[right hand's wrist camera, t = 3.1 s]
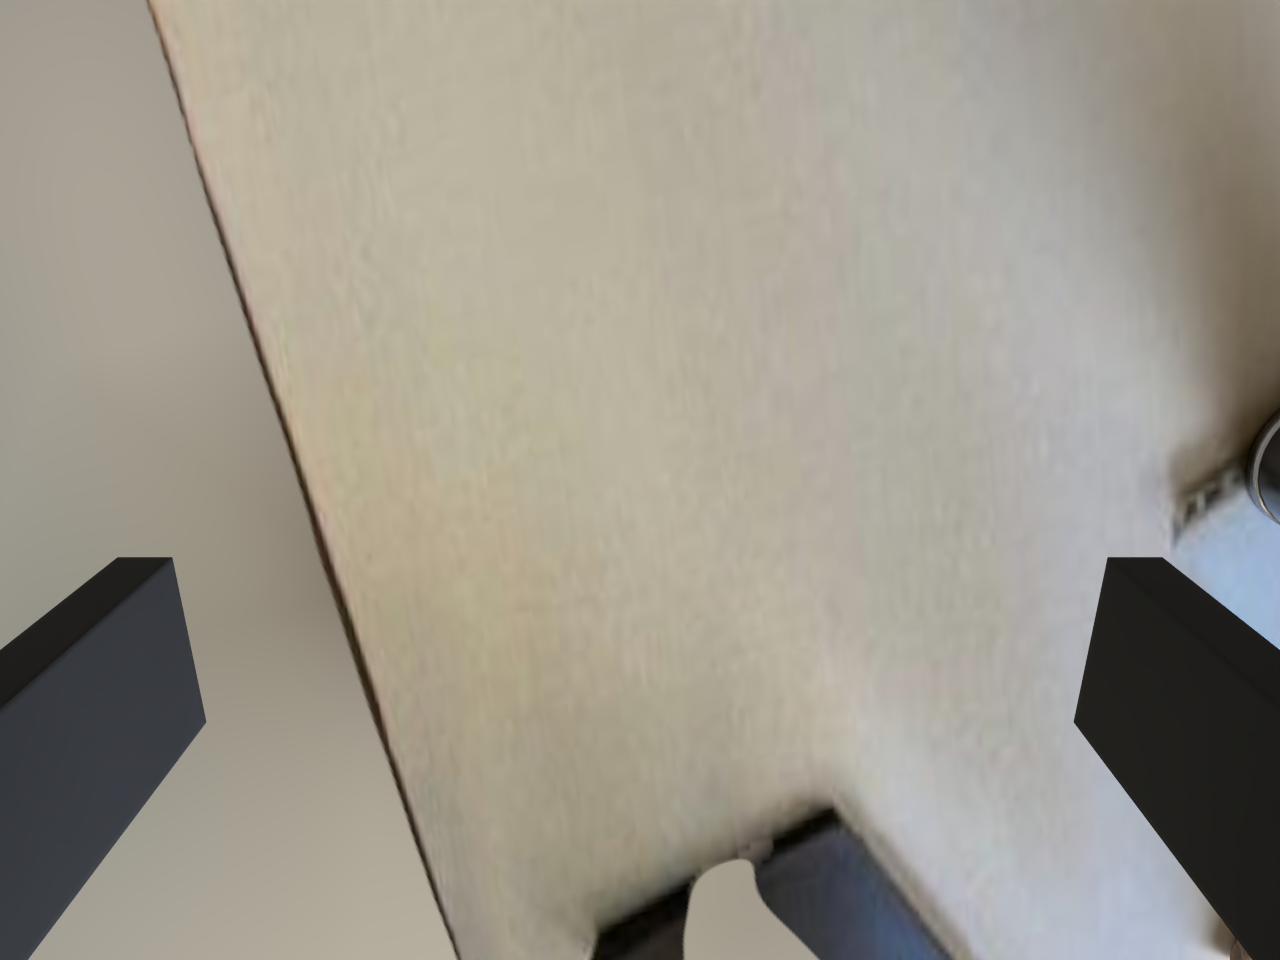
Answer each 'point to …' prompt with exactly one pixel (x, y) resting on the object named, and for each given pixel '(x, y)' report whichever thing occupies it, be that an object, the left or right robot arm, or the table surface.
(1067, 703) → the table surface
